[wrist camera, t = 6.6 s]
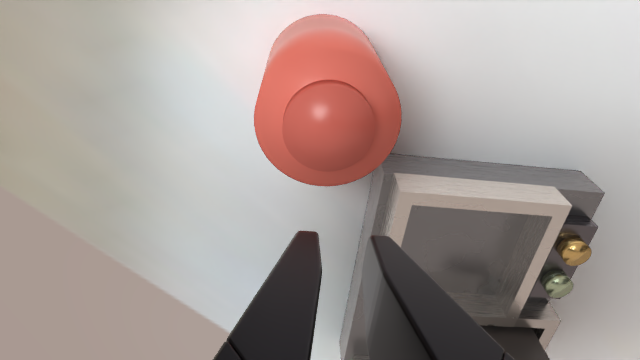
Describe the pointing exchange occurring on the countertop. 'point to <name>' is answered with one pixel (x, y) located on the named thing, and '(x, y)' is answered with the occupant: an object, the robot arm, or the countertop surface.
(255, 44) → the countertop surface
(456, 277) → the breaker panel
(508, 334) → the block
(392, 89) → the cap
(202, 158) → the countertop surface
